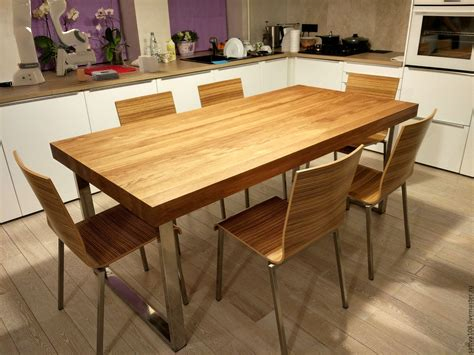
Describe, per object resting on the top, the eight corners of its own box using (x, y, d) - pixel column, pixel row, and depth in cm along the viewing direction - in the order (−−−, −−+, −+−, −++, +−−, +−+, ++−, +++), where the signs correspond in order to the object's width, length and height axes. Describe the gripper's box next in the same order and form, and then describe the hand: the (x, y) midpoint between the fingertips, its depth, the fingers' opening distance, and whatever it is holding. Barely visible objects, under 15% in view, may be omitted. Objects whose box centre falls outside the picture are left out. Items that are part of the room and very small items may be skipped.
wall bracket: (76, 90, 337) (62, 74, 307) (71, 90, 337) (56, 75, 307) (77, 66, 341) (63, 48, 312) (72, 66, 341) (57, 48, 311)
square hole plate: (97, 80, 289) (96, 74, 287) (92, 77, 301) (91, 71, 300) (118, 77, 296) (118, 72, 294) (113, 74, 308) (112, 69, 307)
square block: (78, 80, 289) (76, 69, 286) (80, 79, 293) (78, 68, 289) (84, 80, 289) (82, 69, 286) (85, 79, 293) (83, 68, 290)
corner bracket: (140, 71, 320) (138, 56, 315) (151, 69, 327) (150, 54, 322) (147, 72, 313) (145, 57, 308) (159, 70, 320) (157, 55, 315)
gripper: (66, 50, 292) (65, 66, 287) (94, 49, 294) (94, 64, 289) (69, 55, 298) (68, 71, 293) (97, 54, 300) (96, 70, 295)
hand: (81, 68), depth 291 cm, fingers open, 8 cm apart
